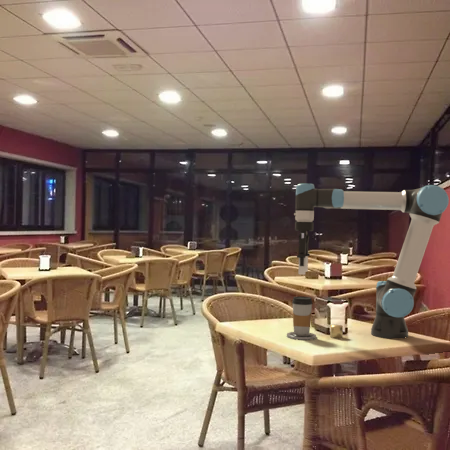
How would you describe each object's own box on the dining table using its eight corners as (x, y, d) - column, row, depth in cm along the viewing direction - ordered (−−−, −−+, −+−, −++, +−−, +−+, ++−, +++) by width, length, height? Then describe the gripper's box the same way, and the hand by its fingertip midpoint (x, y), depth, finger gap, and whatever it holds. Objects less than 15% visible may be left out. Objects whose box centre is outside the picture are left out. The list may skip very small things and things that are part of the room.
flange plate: (316, 335, 222) (316, 332, 222) (315, 341, 210) (315, 338, 210) (288, 333, 225) (288, 330, 225) (285, 339, 213) (285, 336, 213)
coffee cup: (311, 336, 213) (312, 299, 213) (290, 335, 214) (291, 298, 214) (312, 332, 221) (313, 297, 221) (292, 331, 222) (293, 296, 222)
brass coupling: (342, 336, 220) (342, 324, 220) (342, 339, 215) (342, 327, 215) (330, 336, 221) (330, 324, 221) (329, 338, 216) (330, 326, 216)
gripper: (297, 221, 230) (296, 270, 230) (292, 220, 206) (291, 275, 206) (315, 221, 229) (314, 270, 229) (311, 221, 204) (310, 276, 204)
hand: (303, 272), depth 217 cm, fingers open, 13 cm apart
